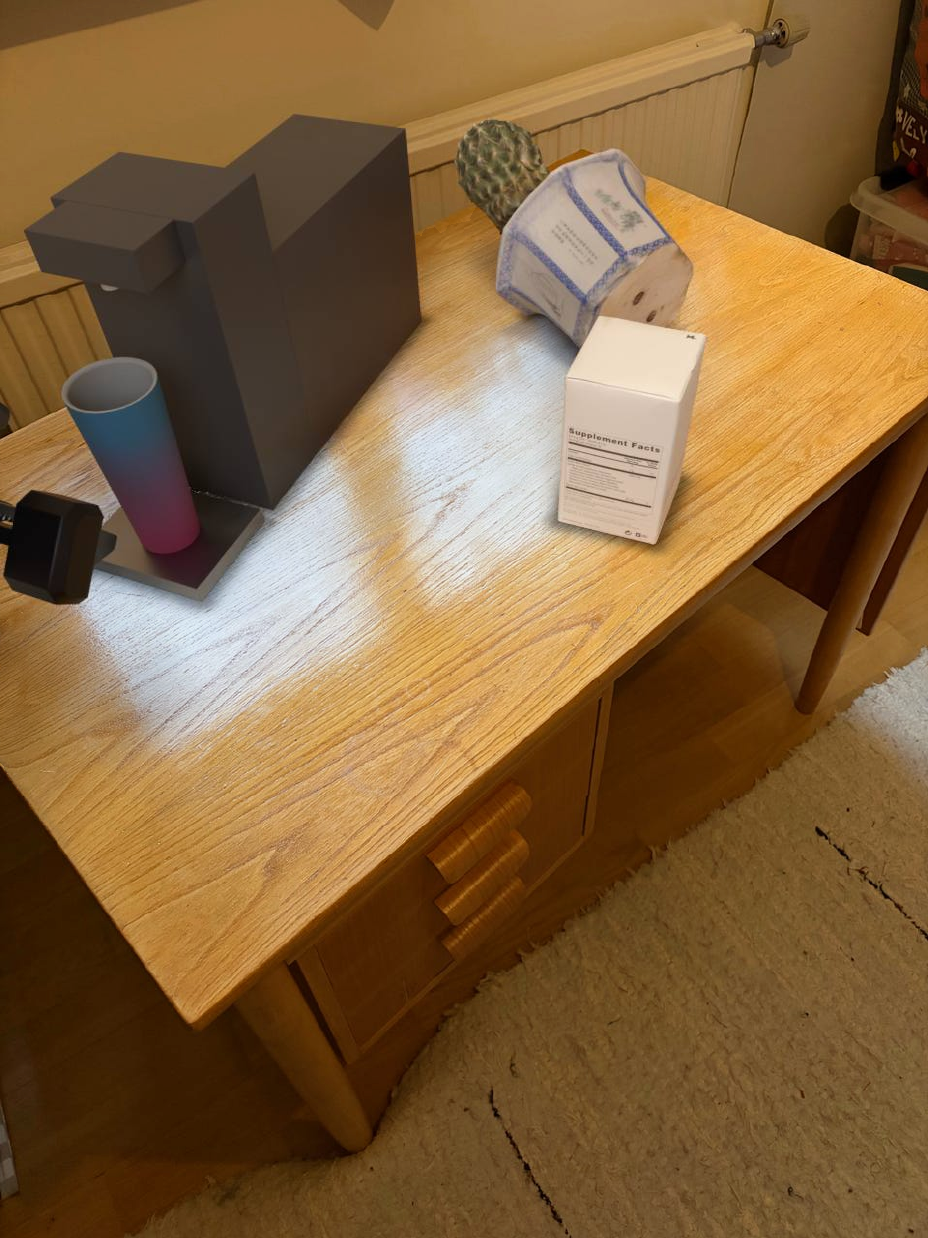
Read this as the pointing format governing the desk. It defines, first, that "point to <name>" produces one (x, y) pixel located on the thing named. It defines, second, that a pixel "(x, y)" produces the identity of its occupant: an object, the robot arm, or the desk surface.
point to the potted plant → (572, 233)
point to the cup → (135, 448)
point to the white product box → (627, 426)
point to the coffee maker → (249, 288)
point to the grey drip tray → (194, 565)
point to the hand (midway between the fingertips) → (61, 526)
